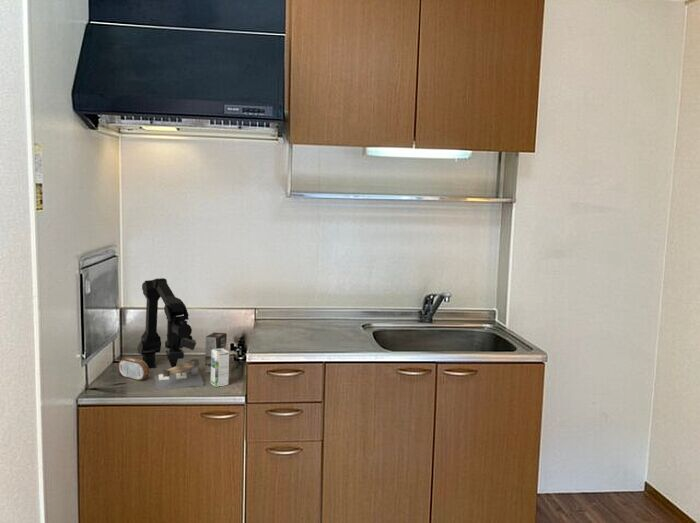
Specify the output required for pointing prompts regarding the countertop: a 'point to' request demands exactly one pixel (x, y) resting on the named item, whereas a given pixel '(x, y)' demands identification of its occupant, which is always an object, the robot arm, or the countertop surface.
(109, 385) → the countertop surface
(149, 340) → the robot arm
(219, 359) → the syrup box
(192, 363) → the bar
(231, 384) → the countertop surface
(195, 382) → the label board
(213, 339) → the coffee box
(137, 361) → the tin
